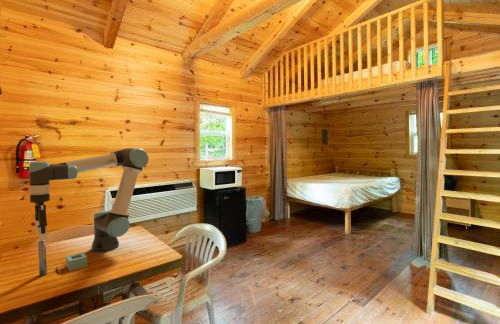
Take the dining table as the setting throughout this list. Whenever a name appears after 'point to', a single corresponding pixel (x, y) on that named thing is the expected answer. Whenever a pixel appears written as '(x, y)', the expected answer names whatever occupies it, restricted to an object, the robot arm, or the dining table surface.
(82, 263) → the green hollow block
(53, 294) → the dining table surface
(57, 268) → the lace
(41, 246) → the grey long bar
